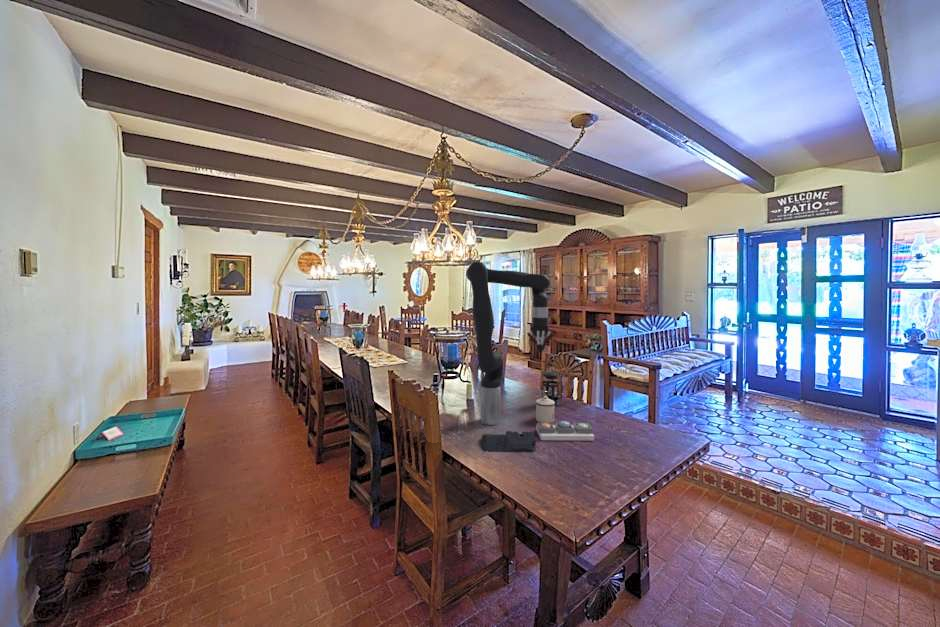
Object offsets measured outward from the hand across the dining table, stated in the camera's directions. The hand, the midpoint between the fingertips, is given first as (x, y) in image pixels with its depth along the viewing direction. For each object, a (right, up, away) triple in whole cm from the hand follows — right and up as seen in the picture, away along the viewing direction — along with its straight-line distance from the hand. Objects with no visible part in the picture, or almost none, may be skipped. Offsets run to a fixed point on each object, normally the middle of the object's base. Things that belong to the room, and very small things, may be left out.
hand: (539, 351), depth 182 cm
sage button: (+15, -31, -21) cm, 40 cm away
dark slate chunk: (-18, -35, -30) cm, 50 cm away
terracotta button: (-1, -31, -21) cm, 38 cm away
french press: (+10, -31, +21) cm, 39 cm away
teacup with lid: (+2, -32, -2) cm, 33 cm away
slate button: (+7, -30, -21) cm, 37 cm away
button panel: (+7, -34, -21) cm, 40 cm away
